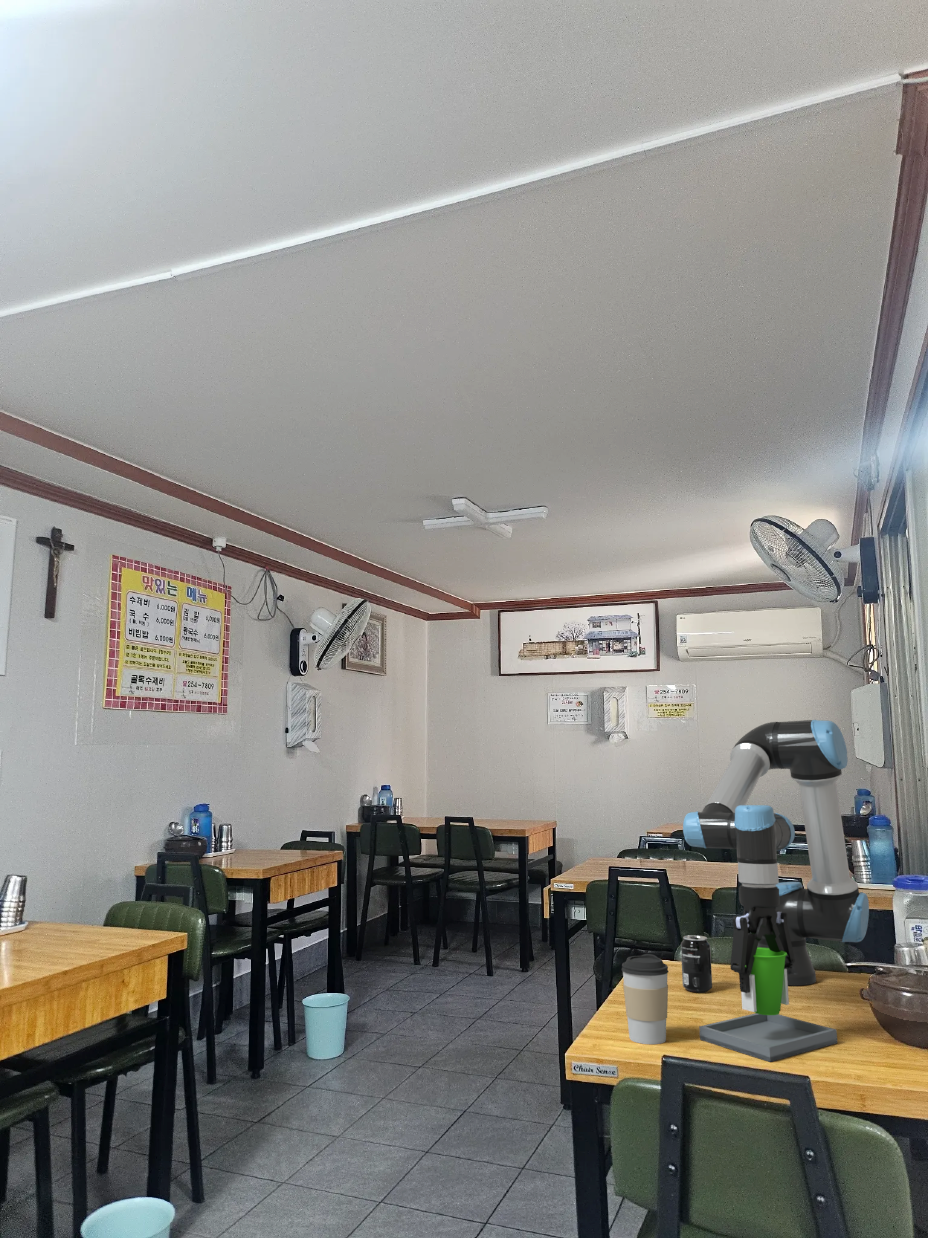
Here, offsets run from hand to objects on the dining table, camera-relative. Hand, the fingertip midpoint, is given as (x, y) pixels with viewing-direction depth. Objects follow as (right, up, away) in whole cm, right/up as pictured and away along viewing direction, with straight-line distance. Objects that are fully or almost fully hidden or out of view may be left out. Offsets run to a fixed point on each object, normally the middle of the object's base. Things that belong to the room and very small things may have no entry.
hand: (765, 1006), depth 164 cm
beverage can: (-3, -14, +38) cm, 41 cm away
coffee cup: (-23, -7, +1) cm, 24 cm away
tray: (0, -6, -1) cm, 6 cm away
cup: (0, -1, 0) cm, 1 cm away
